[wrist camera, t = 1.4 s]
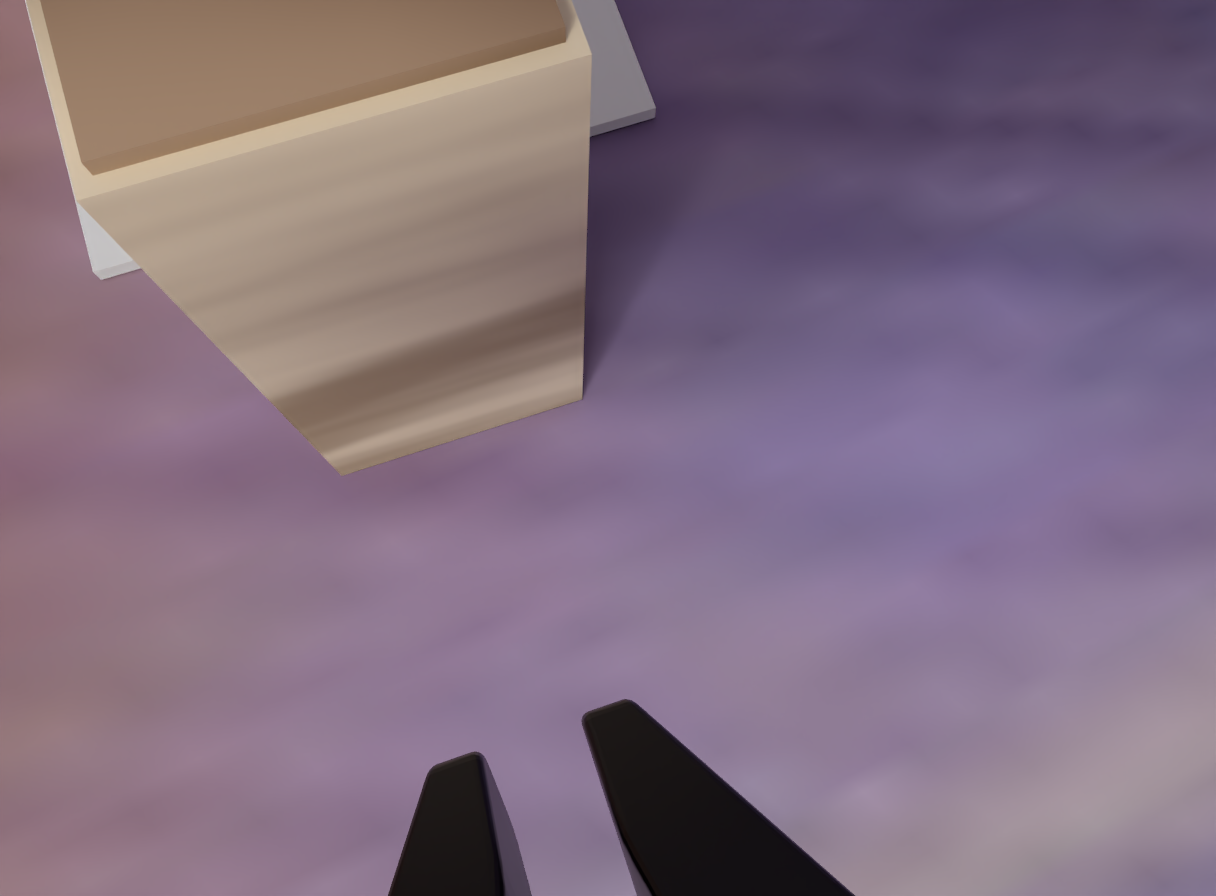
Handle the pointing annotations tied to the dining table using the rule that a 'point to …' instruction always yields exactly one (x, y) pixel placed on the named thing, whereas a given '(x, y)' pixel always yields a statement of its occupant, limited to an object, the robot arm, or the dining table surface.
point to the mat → (612, 106)
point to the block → (346, 196)
